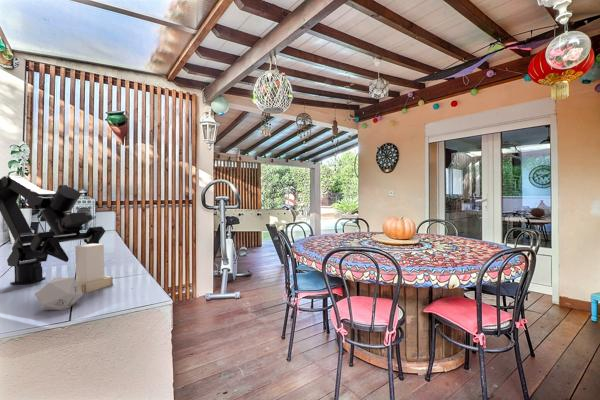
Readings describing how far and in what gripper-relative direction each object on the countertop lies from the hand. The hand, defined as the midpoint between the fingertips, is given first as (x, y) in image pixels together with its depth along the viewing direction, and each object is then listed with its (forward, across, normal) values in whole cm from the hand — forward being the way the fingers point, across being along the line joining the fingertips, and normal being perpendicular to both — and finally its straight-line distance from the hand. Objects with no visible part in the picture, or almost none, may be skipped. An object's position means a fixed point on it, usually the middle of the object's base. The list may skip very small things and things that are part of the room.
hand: (84, 257), depth 88 cm
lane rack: (+5, 0, +8) cm, 10 cm away
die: (+15, -13, 0) cm, 20 cm away
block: (+8, 0, +5) cm, 9 cm away
